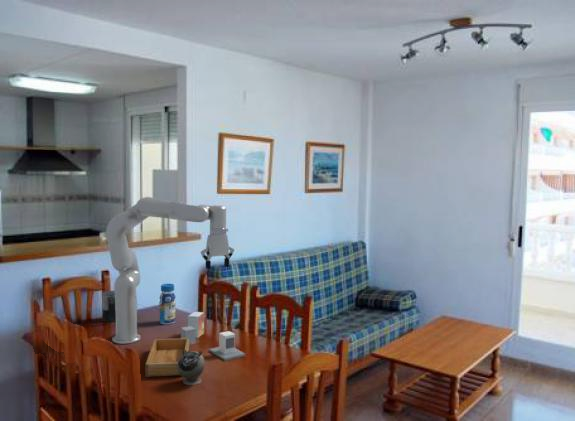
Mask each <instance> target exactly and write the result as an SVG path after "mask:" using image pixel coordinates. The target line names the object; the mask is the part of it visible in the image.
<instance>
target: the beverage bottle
mask: <svg viewBox="0 0 575 421" xmlns="http://www.w3.org/2000/svg"><path fill="white" fill-rule="evenodd" d="M160 291H161V293H160V295H159V323H160V324H161V325H171V324H174V323H176V303H177V302H176V294H175V293H174V291H175V284H173V283H162V284H161V285H160Z"/></svg>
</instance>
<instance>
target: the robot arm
mask: <svg viewBox="0 0 575 421" xmlns="http://www.w3.org/2000/svg"><path fill="white" fill-rule="evenodd" d="M149 217H152V218H161V219H169V220H176V221H183V222H191V223H193V222H194V223H204V222H206V221H209V234H208V235H207V238H206V246H205V248H204V249H202V250H201V251H200V254H201V256H202V258H203V259H204V260H205V268H206V269H207V270H211V268H212V267H211V266H212V265H211V264H212V262H211V259H212V257H224V258H223V259H224V262H223V265H224V267H225V268H229V266H230V260H231V257H232V256H233V255H234V252H235V249H234V248H233V247H231V246H229V239H228V238H229V237H228V234H227V232H229V229H228V228H227V207H226V206H225V205H207V204H198V205H193V204H192V205H191V204H185V203H180V202H177V201H174V200H171V199H160V198H154V197H150V196H144V197H142V198H139V199H138V201H137V202H136V204H134V205H133V206H131V207H130V208H128V209H127V210H125V211H123V212H120V213H118V214H116V215H115V216H114V217H113V218H111V219H110V221H109V222H108V224H107V225H106V226H107V227H106V231H105V232H106V233H105V234H106V239H107V240H106V241H107V246H108V250H109V255H110V262H111V265H112V267H113V268H114V269H115V270H116V271H118V274H119V275H118V276H117V278H116V279H115V281H114V285H113V287H114V288H113V289H114V290H113V291H115V308H116V321H115V335H113V337H112V340H111V341H112V342H113V343H115V344H119V345H120V344H121V345H124V344H125V345H126V344H132V343H136V342H138V341H140V340H141V335H140V334H139V333H138V320H137V319H138V307H137V306H138V299H137V287H138V286H140V282H141V273H140V269H139V264H138V263H139V262H138V260H137V259H138V258H137V256H136V255H137V254H136V253H135V251H134V250H133V249H131V248H129V243H128V239H127V236H126V233H127V231H129V230H131V229H134V228H135V227H137V226H138V225H139V224H141V223H142V222H143V221H145V220H146V219H148V218H149Z"/></svg>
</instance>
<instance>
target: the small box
mask: <svg viewBox="0 0 575 421" xmlns="http://www.w3.org/2000/svg"><path fill="white" fill-rule="evenodd" d="M188 326H192V327H193V328H195V329H196V339H199V338H200V337H201V336H202V335H204V334H205V312H203V311H202V312H201V311H193V312H192V313H190V314H189V315H187V327H188Z"/></svg>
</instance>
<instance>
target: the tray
mask: <svg viewBox="0 0 575 421" xmlns="http://www.w3.org/2000/svg"><path fill="white" fill-rule="evenodd" d="M184 349H185V350H186V351H187V352H188V351H189V349H190V345H189V338H181V337H180V338H160V339H159V338H158V339H156V338H155V339H154V340H153V342H152V345H151V349H150V351H149V354H148V356H147V359H146V361H145V378H148V377H150V378H151V377H168V376H170V377H171V376H181V375H180V373H179V371H178V368H177V364H178V360H179V358H180V357H181V356H182V355H183V350H184Z"/></svg>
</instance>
